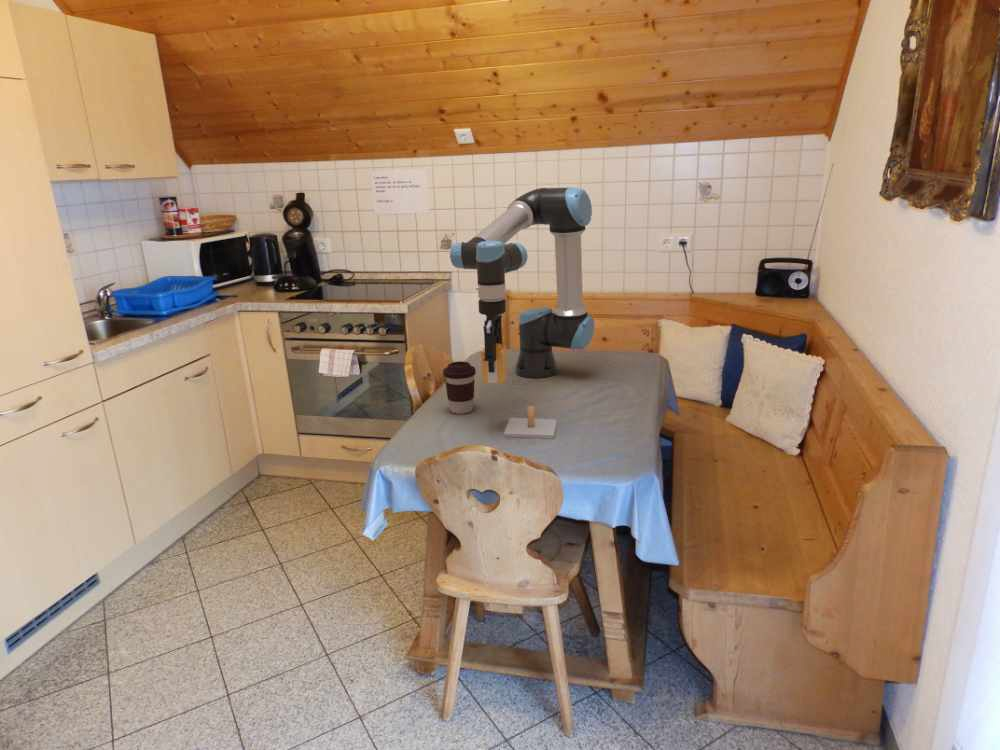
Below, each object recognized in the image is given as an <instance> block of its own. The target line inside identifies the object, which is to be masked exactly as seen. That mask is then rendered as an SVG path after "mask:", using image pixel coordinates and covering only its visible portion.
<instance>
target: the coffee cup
mask: <svg viewBox="0 0 1000 750" xmlns="http://www.w3.org/2000/svg"><path fill="white" fill-rule="evenodd" d="M476 370H477V369H476V367H475V366H473V365H472V364H471V363H470V362H467V361H452V362H450V363H448V365H447V366H446V367H445V368H443V370H442V375H443V377H445V389H446V394H447V395H446V397H447V400H448V405H449V406H448V407H449V411H450V412H451V413H453V414H455V413H456V414H455V415H457V414H458V415H464V413H465V414H468V412H469V413H471V412H472V411H473V410H474V398H475V379H474V378H475V375H476V373H477V372H476Z"/></svg>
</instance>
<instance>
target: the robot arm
mask: <svg viewBox="0 0 1000 750" xmlns="http://www.w3.org/2000/svg"><path fill="white" fill-rule="evenodd" d="M592 215H593V208H592V201H591V199H590V195H589V193H587V191H586V190H585V189H583V188H579V187H577V188H576V187H540V188H539V187H538V188H536V189H532V190H530V191H528V192H525V193H524V194H522V195H520V196H519V197H517V198H516V199H515V200H513V201H512V202H511V203H509V204H508V205H507V208H506V210H505V211H504V212H503V213H502V214H501V215H498V217H497V218H495V219H494V220H493V221H492V222H490V224H488V225H487V226H486V227H485V228H483V229H482V230H481V231H480V232H479V233H477V234H476V235H475V236H474V237H472V238H471V239H469V240H468V241H466V242H464V241H461V242H455V243H454V244H453V245H452V246H451V248H450V252H449V259H450V262H451V264H452V266H453V267H454V268H455V269H456V268H457V269H463V270H477V271H476V272H477V273H476V275H477V286H476V287H475V290H476V291H477V297H478V301H477V304H478V312H479V314H480V315H484V316H486V319H485V320H484V324H483V334H484V336H483V337H484V338H483V340H484V347H485V359H484V361H487V378H488V383H489V384H498V383H497V382H498V378H497V360H496V343H500V344H501V345H502V346H503V332H502V331H503V328H502V318H503V317H502V314H505V313H506V312H507V303H506V299H505V297H506V295H507V292H506V290H507V289H506V274H507V273H510V272H516V271H518V270H519V269H521V268H523V267H524V266H525V265H526V264H527V261H528V257H529V256H528V252H527V249H526V247H525V246H524V245H523V244H521V243H518V242H510V243H508V242H509V241H510V240H511V239H512V238H513V237H514V236H516V235H517V234H518V233H519V232H521V230H526V229H529V228H530V227H531V226H536V225H543V226H544V225H545V226H546V225H549V226H548V227H549V233H550V234H551V235H553V237H554V250H555V251H554V255H555V275H556V279H555V280H556V299H557V300H556V302H557V305H556V306H557V307H555V309H554V310H553V309H552V308H551V307H547V306H544V307H542V306H541V307H533V308H528V309H526V310H523V311H521V312H520V314H519V319H518V320H519V322H518V329H519V354H518V356H517V360H516V362H515V363H516V364H515V374H516V375H518V376H520V377H524V378H529V379H541V378H548V377H551V376H554V375H556V374H557V373H558V364H557V360H556V359H555V356H554V355H555V354H554V353H553V352H554V351H553V348H562V349H563V348H564V349H570V350H573V351H574V350H584V349H586V348H587V347H588V346H589V345H590V343H591V342H592V341H591V340H592V339H593V335H594V333H595V332H594V331H595V320H594V318H593V317H592V316H591V315H589V314H588V308H587V307H585V306H584V301H583V299H584V298H583V269H582V268H583V267H582V263H583V262H582V234H583V233H584V232H585V231H586V226H588V225H589V224H590V223H591V221H592ZM588 315H589V316H588ZM488 383H487V384H488Z"/></svg>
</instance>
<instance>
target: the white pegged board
mask: <svg viewBox="0 0 1000 750" xmlns="http://www.w3.org/2000/svg"><path fill="white" fill-rule="evenodd" d="M526 412H527V413H526V414H527V415H526V418H525V417H524V418H523V417H509V419H508V421H507V425H506V427H505V429H504V432H503V438H525V439H548V440H549V439H550V440H551V439H554V438H555V434H556V431H557V426H558V419H557V418H535V405H527V406H526Z"/></svg>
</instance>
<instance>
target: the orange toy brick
mask: <svg viewBox="0 0 1000 750" xmlns="http://www.w3.org/2000/svg"><path fill="white" fill-rule="evenodd" d="M507 356H508V355H507V346H503V344H502V345H501V344H500V343H496V360H497V378H498V382H497V383H496V384H504V383H505V381H506V379H507V377H508V363H507V362H508V361H507ZM480 357H481V358H480V359H481V377H482V378H481V379H482V383H485V384H488V378H487V361H484V359H485V346H484V348H483V349H482V350H481V351H480Z"/></svg>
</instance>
